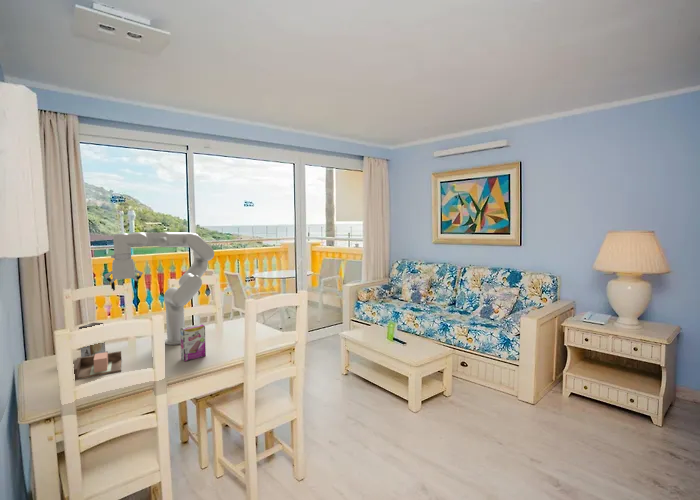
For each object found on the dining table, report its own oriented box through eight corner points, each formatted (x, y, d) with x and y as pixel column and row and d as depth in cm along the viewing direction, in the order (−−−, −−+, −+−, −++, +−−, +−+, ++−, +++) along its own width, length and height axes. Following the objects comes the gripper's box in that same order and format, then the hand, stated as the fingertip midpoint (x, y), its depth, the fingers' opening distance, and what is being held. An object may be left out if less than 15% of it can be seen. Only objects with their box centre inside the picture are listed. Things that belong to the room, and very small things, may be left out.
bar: (107, 370, 174) (106, 357, 173) (94, 372, 171) (93, 360, 171) (108, 363, 183) (107, 351, 182) (96, 365, 180) (95, 353, 180)
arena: (121, 360, 189) (121, 351, 188) (120, 371, 175) (120, 361, 175) (77, 367, 180) (77, 358, 179) (73, 380, 166) (72, 369, 166)
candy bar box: (184, 362, 186) (183, 329, 185) (180, 359, 190) (179, 327, 188) (206, 356, 194) (205, 325, 193) (202, 353, 198) (201, 323, 196)
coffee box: (95, 351, 202) (93, 322, 201) (105, 351, 201) (103, 322, 199) (80, 357, 193) (78, 327, 192) (90, 358, 192) (88, 327, 190)
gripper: (102, 258, 188) (104, 292, 189) (142, 256, 196) (143, 288, 198) (103, 257, 194) (105, 289, 196) (141, 255, 203) (143, 286, 204)
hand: (124, 289), depth 197 cm, fingers open, 9 cm apart
